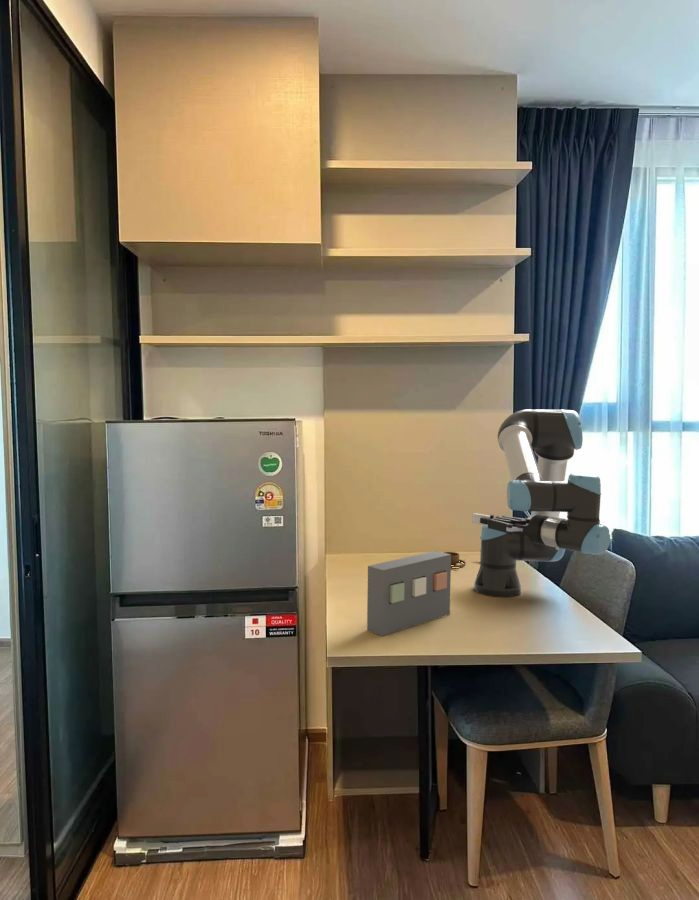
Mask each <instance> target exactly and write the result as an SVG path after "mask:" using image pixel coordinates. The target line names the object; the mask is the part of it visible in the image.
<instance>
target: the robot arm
mask: <svg viewBox="0 0 699 900" xmlns="http://www.w3.org/2000/svg"><path fill="white" fill-rule="evenodd" d="M583 439H584V438H583V426H582V421H581V418H580V415H579V413H578V412H577V411H575V410H571V409H563V408H562V409H531V408H529V409H527V408H526V409H521V410H517V411H515V412H514V413H512V414H510V415H509V416H507V417H506V419H504V420H503V422H501V425H500V427H499V428H498V432H497V442H498V445H499V448H500V449H501V450H502V451H503V452H504V455H505V458H506V459H505V460H506V463H507V466H508V467H507V468H508V471H509V474H510V475H509V476H510V479H511V480H509V482H508V483H507V486H506V504H507V507H508V509H510V510H511V511H519V512H520V511H521V512H530V513H531V514H530V516H529V517H527V518H526V517H525V518H523V517H516V516H513V517H512V516H507V515H502V516H499V515H496V516H495V515H494V514H483V513H477V512H473V513H472V518H471V519H472V521H471V523H472V524H475V525H479V526H480V525H481V529H480V537H479V538H480V550H481V553H480V559H479V561H480V563H479V569H478V571H477V574H476V577H475V580H474V583H473V584H474V586H473V589H474V591H475V592H477V593H478V594H480V595H485V596H488V595H489V596H490V597H495V598H496V597H498V598H499V597H500V598H501V597H502V598H505V597H506V598H507V597H508V598H509V597H515V596H518V595H520V594H521V591H522V588H521V587H522V585H521V581H520V578H519V575H518V572H517V561H519V562H520V561H521V562H522V561H524V562H545V563H549V562H558V561H561V560H562V558H563V557H564V555H565V552H566V550H568V551H573V552H577V553H581V554H585V555H586V554H588V555H593V556H594V555H596V556H601V555H603V554H604V553H606V552H607V550H608V549H609V547H610V542H611V534H610V529H609V528H608V526H606V525H604V524H602V523H601V520H600V513H601V512H600V509H601V495H602V492H601V491H602V489H601V488H602V487H601V485H602V484H601V478H600V477H599V475H596V474H594V473H581V472H578V473H577V472H576V473H575V472H574V473H571V474H569V475H568V479H567V480H565V479H566V472H567V464H568V461H569V460H570V459H572V458H573V457H574V454H575V450H576V451H577V450H580V449H582V448H583V447H582V446H583V442H584V441H583ZM533 449H534V450H533ZM536 456H537V457H538V459H536ZM560 512H561V513H567V514H566V518H567V519H566V518H563V517H560ZM489 596H488V597H489Z"/></svg>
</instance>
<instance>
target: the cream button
mask: <svg viewBox="0 0 699 900" xmlns="http://www.w3.org/2000/svg"><path fill="white" fill-rule="evenodd" d="M423 594H426V577H422V576H421V577H417V578H413V579H412V596H414V597H416V596H420V595H423Z"/></svg>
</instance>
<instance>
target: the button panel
mask: <svg viewBox="0 0 699 900" xmlns="http://www.w3.org/2000/svg"><path fill="white" fill-rule="evenodd" d="M451 569H452V568H451V554H447V553H443V552H442V551H437V550H434V551H428V552H424V553H421V554H415V555H412V556H406V557H403V558H398V559H393V560H389V561H384V562H380V563H379V562H378V563H374V564H370V565H368V566H367V600H366V601H367V602H366V603H367V605H366V607H367V611H366V615H367V617H366V630H367V631H368V632H370V633H373V634H376V635H379V636H381V637H384V636H387V635H390V634H394V633H397V632H400V631H403V630H406V629H409V628H412V627H415V626H419V625H421V623H422V624H424V622H425V623H427V621H428V622H431V621H433V619H434V620H436V618H437V619H439V617H440V618H443V617H445V615H446V616H448V614H449V615H450V613H451V582H452V581H451V580H452V579H451V578H452V577H451V576H452V575H451V574H452V573H451V572H452V570H451ZM441 571H444V572H447V588H445V589H441V590H438V591H435V590H433V574H434V573H437V572H441ZM421 576H422V577H426V594H423V595H420V596H416V597H414V596H412V579H413V578H417V577H421ZM397 582H401V583H404V600H402V601H399V602H395V603H390V602H389V585H390V584H394V583H397ZM442 616H443V617H442ZM430 620H431V621H430ZM418 624H419V625H418Z"/></svg>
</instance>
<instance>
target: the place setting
mask: <svg viewBox="0 0 699 900" xmlns="http://www.w3.org/2000/svg"><path fill="white" fill-rule="evenodd" d="M479 552H480V554H481V549H480V551H479ZM442 553H447V554H451V565H454V566H451V569H453V568H452V567H462V566H464V567H465V566H466V565H467V564H466V563H467V562H466V561H465V560H463V559H460V554H459V552H454V551H444V552H442ZM459 561H460V562H463V563H464V564H458V562H459ZM462 568H463V567H462Z"/></svg>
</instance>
